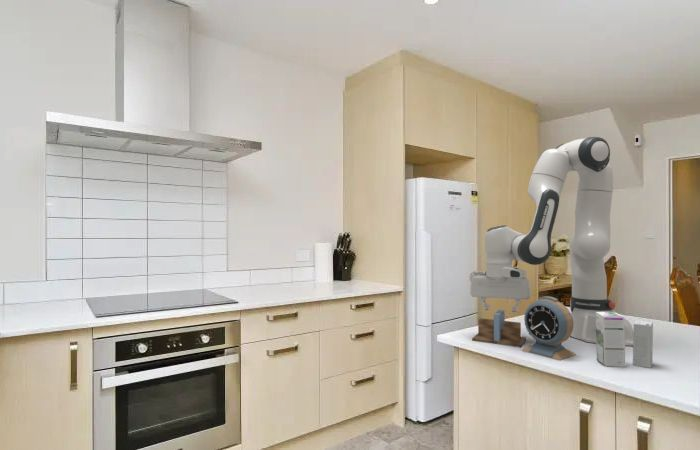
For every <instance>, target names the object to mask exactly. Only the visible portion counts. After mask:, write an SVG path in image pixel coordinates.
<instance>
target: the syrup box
mask: <svg viewBox="0 0 700 450" xmlns="http://www.w3.org/2000/svg"><path fill="white" fill-rule="evenodd" d="M615 312H616V311H615ZM615 312H596V342H597V343H596V360H597V361H598V363H600V364H602V365H603V366H605V367H612V368H613V367H615V368H626V365H627V364H626V345H625V329H624V318H625V315H622V314H619V313H618V312H617V313H615Z"/></svg>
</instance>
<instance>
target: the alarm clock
mask: <svg viewBox="0 0 700 450" xmlns="http://www.w3.org/2000/svg"><path fill="white" fill-rule="evenodd" d="M523 320H524V325H525V328H526V330H527V332H528V333H529V335H530V336H531V337H532V338H533V339H534V340H535V342H534V343H533V344H532V345H529V346H527V347H526V348H524V349H521V351H522V352H524V353H529V354H533V355H536V356H539V357H540V356H541V357H545V358H548V359H553V360H556V361H562V360H566V359H568V358H571V357H573V356H576V355H577V354H576V353H575V352H573V351H571V350H569V349H567V348H566V347H564V345H562V343H564V342H566V341H567V340H568V339H569V338H570V337H571V336H570V335H571V333H572V330H573V325H574V324H573V318H572V315H571V310H569V309H568V307H567V306H565V305H564V304H563V303H562V302H560V301H559V299H558V298H556V297H553V296H550V295H549V296H548V295H546V296H545V295H544V296H540V297H538V299H536V300H534V301H533V302H531V303H530V304H529V305H528V306H527V308H526V310H525V313H524V319H523Z"/></svg>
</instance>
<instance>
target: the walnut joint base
mask: <svg viewBox="0 0 700 450" xmlns="http://www.w3.org/2000/svg"><path fill="white" fill-rule="evenodd" d="M477 320H478V321H477V322H478V323H477V327H478V328H477V329H478V330H477V331H478V333H477V334H475V335H474V336H473V337H472V338H471V341H474V342H479V343H486V344H495V345H502V346H509V347H518V348H521V347H522V346H523V345H524V344H525V343H526V341H527V337H524V336H522V323H521V322H519V321H518V322H516V321H509V320H505V321H504V329H502V330H501V340H500V341H494V319H489V318H481V317H478V319H477Z"/></svg>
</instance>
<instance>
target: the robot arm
mask: <svg viewBox="0 0 700 450" xmlns="http://www.w3.org/2000/svg"><path fill="white" fill-rule="evenodd" d="M610 157H611V149H610V146H609V143H608V142H607V140H606V139H604V138H602V137H599V136H588V137H586V138H585V137H583V138H578V139H577V138H576V139H574V140H571V141H569V142H565V143H561V144H559V145H558V146H556V147H555V148H549V149H546V150H545V151H543V152H542V154H541V156H540V157H539V158H538V160H537V162H536V163H535V166H534V168H533V170H532V173H531V175H530V179H529V182H528V187H527V194H528V196H529V198H530V199H531V200H532V201H533V202H534V203H535V206H536V208H535V213H534V216H533V219H532V220H533V221H532V223H531V228H530V230H529V231H528V232H527V233H526V234H524V233H521V232H519V231H516V230H514V229H513V228H511V227H509V226H508V225H497V226H492V227H490V228H488V229H487V230H486V232H485V239H484V251H485V252H484V253H485V256H486V259H485V270H482V271H481V270H479V271H478V270H477V271H476V270H475V271H472V272H471V273H470V275H469V280H470V281H469V282H470V291H469V292H470V295H471V296H472V298H480V302H482V304H483V308H484V311H490V304H488V303H487V301H486V300H487V298H490V299H492V298H493V299H507V300H508V299H510V300H512V299H514V301H515V305H513V306H511V312H512V313H517V312H518V306H519V305H520V303H521V300H529V299H530V298H531V297H532V288H531V283H530V280H529V278H527V277H526V276H527V271H526V270H525V269H522V268H519V267H515V266H513V261H514V260H516V261H519V262H522V263H526V264H528V265H534V266H536V265H537V266H538V265H541V264H544V263H545V262H546V261H547V260H549V257H550V256H551V254H552V240H551V239H552V232H553V229H554V225H555V221H556V217H557V213H558V210H559V206H560V198H561V194H562V191H563V188H564V185H565V182H566V179H567V175H568V173H569V172H576V173H577V174H578V178H579V181H578V185H577V191H576V192H577V193H576V201H575V210H574V217H575V221H574V224H575V225H574V233H573V234H572V235H571V237H570V238H569V243H568V245H569V247H568V248H569V260H570V271H571V296H570V300H569V303H570V304H569V305H570V307H569V308H570V313H571V315H572V318H573V324H574V325H573V330H572V333H571V335H570V337H571V338H575V339H578V340H582V341H583V342H586V343H594V344H597V342H596V312H615V313H618V312H617V311H616V310H614V309H615V308H616V303H615V302H614V301H612V300H611V299H609V298H608V289H607V288H608V287H607V286H608V284H607V283H608V281H607V280H608V279H607V274H606V267H605V257H606V256H607V255H608V253H609V252H610V249H611V208H612V199H613V190H614V173H613V167H612V166H611V165H610V160H611V159H610ZM624 329H625V346H632V347H633V333H634V327H633V325H632V324H631V322H630V321H629V320H628V319H626V318H625V317H624Z"/></svg>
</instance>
